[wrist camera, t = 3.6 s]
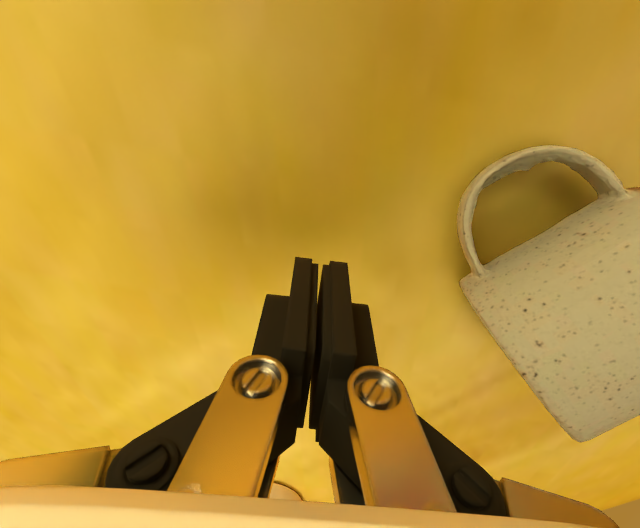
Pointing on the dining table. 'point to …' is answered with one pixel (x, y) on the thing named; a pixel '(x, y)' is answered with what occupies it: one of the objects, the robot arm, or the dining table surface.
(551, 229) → the ceramic mug
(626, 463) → the dining table surface
